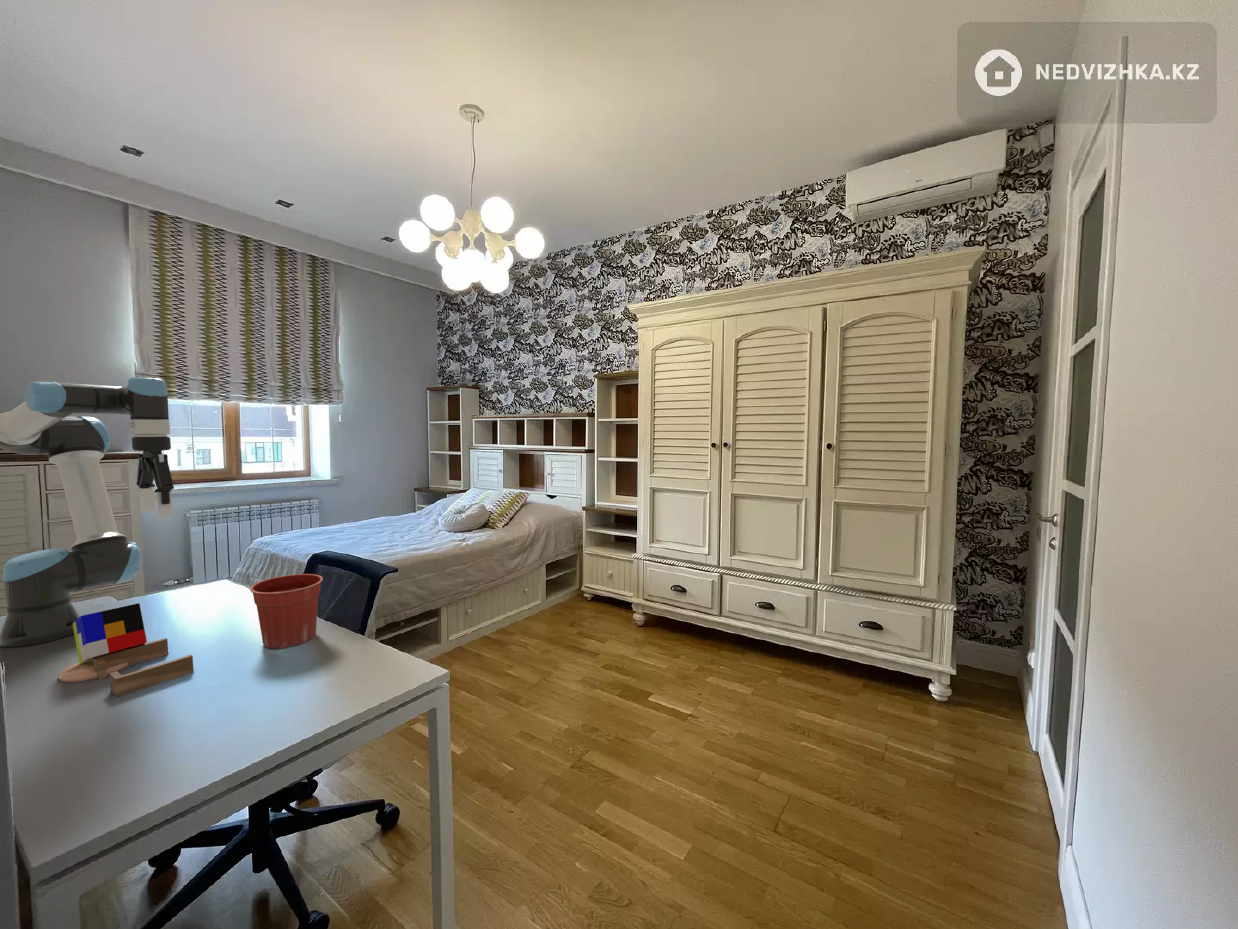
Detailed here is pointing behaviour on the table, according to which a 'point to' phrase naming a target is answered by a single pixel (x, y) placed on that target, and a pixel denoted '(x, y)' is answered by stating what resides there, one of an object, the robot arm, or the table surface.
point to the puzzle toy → (108, 632)
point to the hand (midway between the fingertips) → (156, 513)
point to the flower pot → (287, 609)
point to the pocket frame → (143, 676)
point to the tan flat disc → (85, 671)
